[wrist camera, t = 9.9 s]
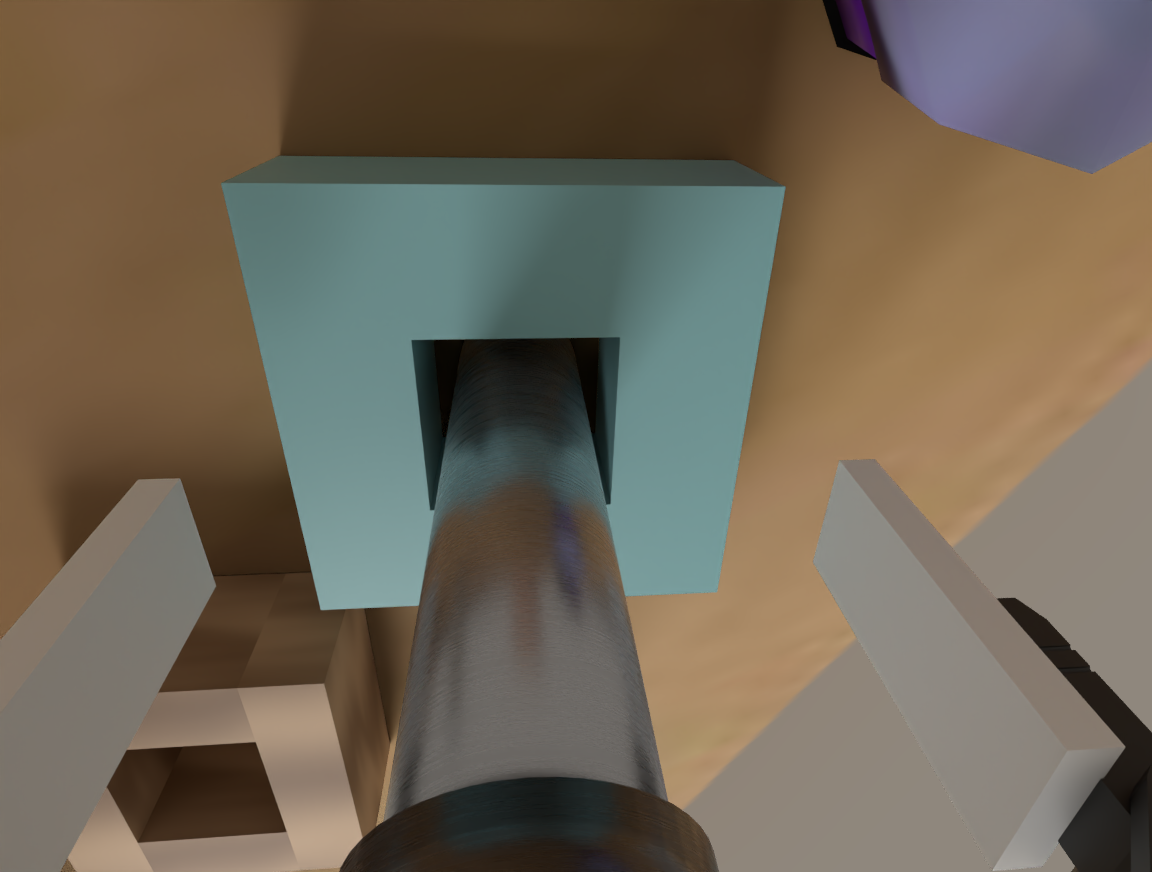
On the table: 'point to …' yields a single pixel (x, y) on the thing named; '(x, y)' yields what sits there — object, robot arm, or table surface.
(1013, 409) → the table surface
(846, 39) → the potion bottle
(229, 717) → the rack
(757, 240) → the socket block
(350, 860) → the metal flashlight
